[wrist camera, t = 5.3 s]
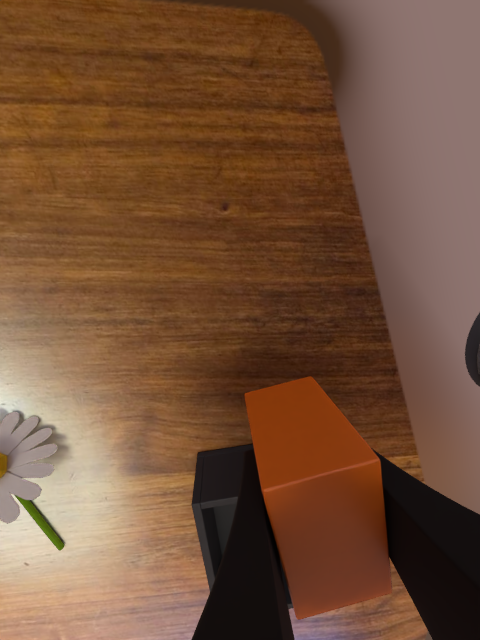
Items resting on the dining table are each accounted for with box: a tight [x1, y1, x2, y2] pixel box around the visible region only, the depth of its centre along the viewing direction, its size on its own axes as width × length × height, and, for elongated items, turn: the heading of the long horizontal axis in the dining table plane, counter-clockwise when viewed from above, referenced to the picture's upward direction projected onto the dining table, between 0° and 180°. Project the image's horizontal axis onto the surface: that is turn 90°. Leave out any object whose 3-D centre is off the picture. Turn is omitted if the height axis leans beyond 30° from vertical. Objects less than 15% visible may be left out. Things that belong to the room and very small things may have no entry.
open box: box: [192, 444, 293, 609], centre depth 20 cm, size 9×13×4 cm
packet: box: [244, 376, 392, 620], centre depth 9 cm, size 4×6×5 cm, turn 13°
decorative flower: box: [0, 412, 64, 550], centre depth 17 cm, size 8×6×15 cm
